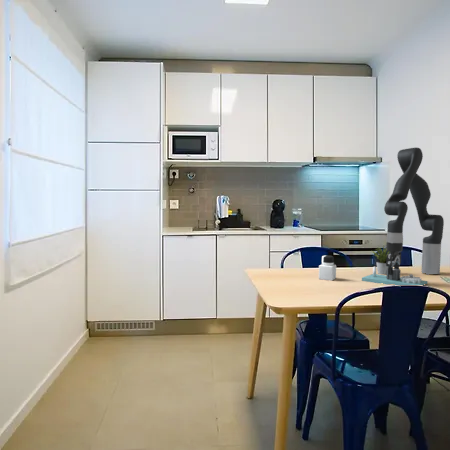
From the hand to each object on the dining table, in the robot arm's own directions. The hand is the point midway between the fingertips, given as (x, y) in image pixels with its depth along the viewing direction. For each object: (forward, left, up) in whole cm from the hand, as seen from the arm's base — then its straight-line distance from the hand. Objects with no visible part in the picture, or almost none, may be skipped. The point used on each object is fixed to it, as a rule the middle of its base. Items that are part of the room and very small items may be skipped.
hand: (393, 273), depth 203 cm
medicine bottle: (+16, -28, -4) cm, 32 cm away
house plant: (-21, -12, -4) cm, 25 cm away
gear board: (0, 0, -4) cm, 4 cm away
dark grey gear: (0, 0, -3) cm, 3 cm away
